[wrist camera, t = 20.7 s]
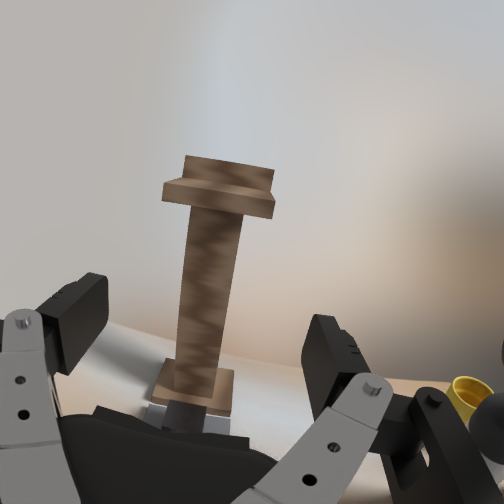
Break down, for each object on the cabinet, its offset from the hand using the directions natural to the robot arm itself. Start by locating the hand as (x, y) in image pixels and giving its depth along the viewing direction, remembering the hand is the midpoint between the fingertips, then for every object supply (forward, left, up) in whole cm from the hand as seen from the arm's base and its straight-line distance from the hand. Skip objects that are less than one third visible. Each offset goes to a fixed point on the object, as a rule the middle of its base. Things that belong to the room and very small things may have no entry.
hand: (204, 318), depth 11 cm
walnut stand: (+2, -27, -30) cm, 40 cm away
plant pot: (-44, -18, -30) cm, 56 cm away
